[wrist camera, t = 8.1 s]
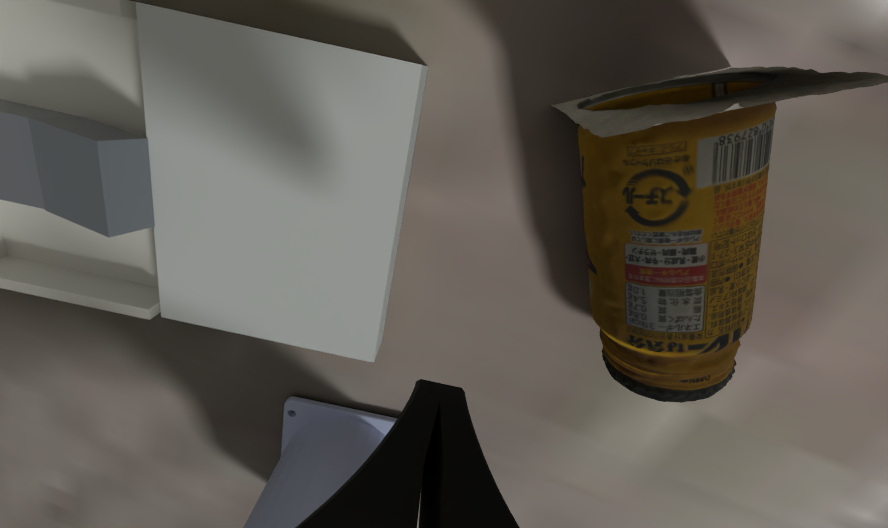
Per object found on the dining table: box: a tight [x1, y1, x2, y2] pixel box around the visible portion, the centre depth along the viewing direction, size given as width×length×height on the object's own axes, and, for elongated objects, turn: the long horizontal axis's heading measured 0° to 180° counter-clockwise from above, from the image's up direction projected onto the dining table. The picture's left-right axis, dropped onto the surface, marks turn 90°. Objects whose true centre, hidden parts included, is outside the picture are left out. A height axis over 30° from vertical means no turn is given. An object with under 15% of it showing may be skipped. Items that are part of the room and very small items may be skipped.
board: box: [136, 2, 428, 363], centre depth 20 cm, size 14×11×2 cm
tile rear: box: [0, 99, 80, 209], centre depth 19 cm, size 4×4×2 cm
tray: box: [0, 0, 161, 320], centre depth 19 cm, size 14×10×2 cm
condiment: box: [549, 67, 888, 402], centre depth 16 cm, size 7×8×12 cm
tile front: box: [28, 117, 155, 238], centre depth 18 cm, size 4×4×2 cm
